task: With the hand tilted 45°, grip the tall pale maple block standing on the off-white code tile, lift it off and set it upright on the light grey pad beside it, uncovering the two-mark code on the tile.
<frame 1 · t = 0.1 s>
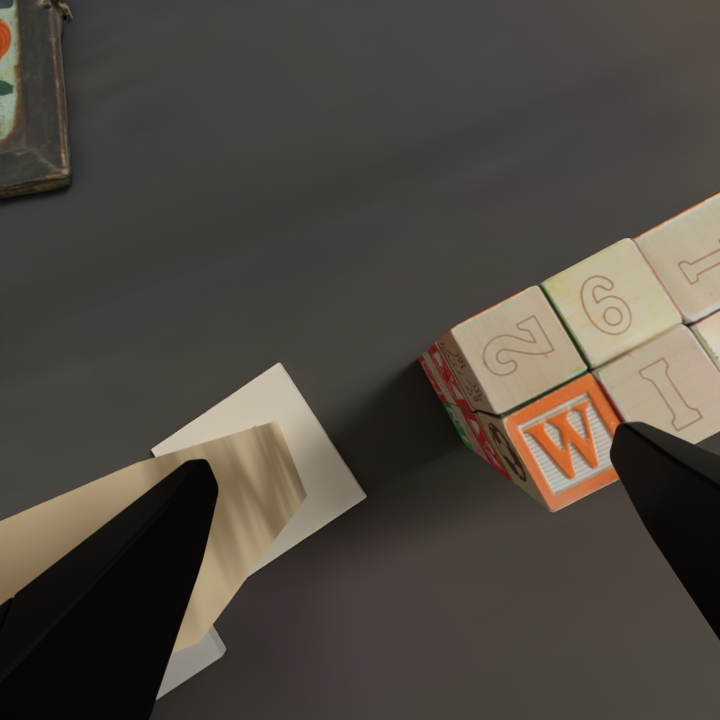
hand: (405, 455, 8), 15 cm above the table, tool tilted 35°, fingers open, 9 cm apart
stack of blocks: (589, 324, 23), on the table
code tile: (258, 471, 23), on the table
maple block: (255, 472, 23), resting on code tile
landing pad: (101, 615, 23), on the table
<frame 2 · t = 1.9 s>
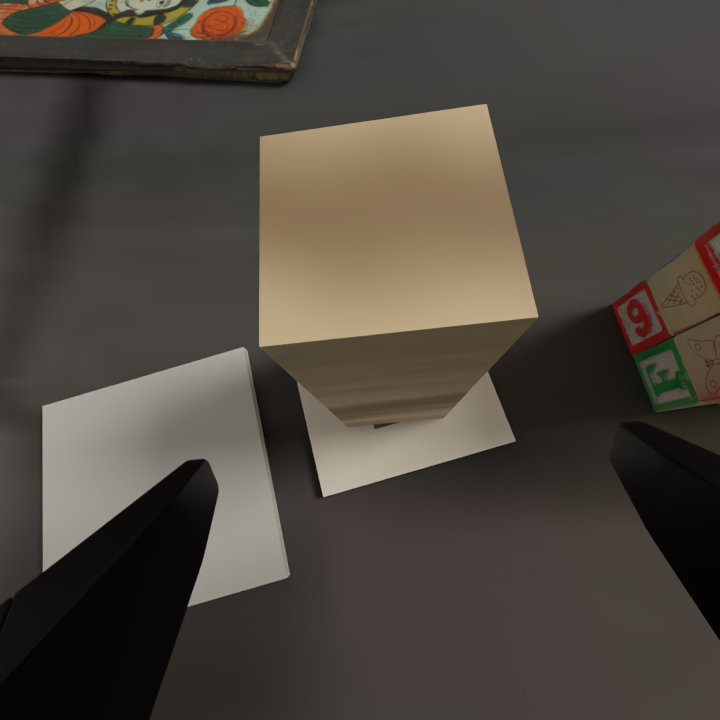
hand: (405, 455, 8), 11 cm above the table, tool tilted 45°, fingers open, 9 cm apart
code tile: (390, 377, 20), on the table
maple block: (390, 376, 20), resting on code tile
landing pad: (159, 483, 20), on the table
when the fingers open (8 cm above the table, at t = 8.7 s): maple block drops 1 cm, resting on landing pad.
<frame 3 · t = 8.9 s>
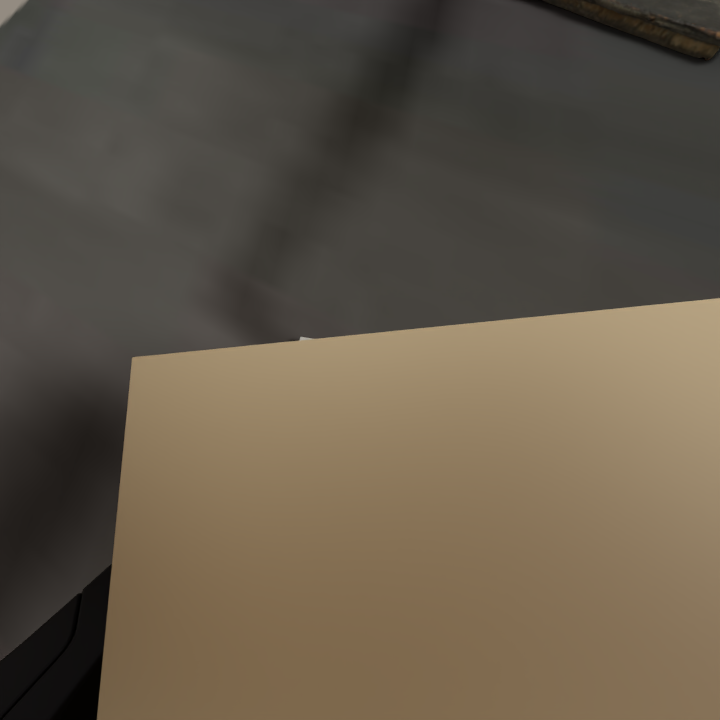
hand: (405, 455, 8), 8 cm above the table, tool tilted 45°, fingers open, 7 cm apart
maple block: (403, 496, 15), point 1 cm above the table, touching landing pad
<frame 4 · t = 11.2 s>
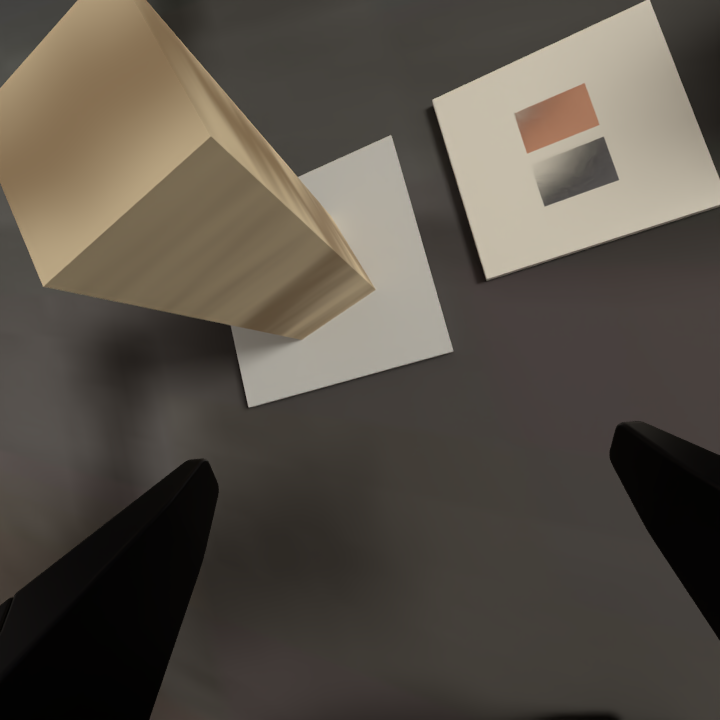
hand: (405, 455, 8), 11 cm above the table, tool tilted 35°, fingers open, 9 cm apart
code tile: (562, 150, 18), on the table
maple block: (316, 278, 20), point 1 cm above the table, touching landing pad
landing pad: (320, 280, 21), on the table
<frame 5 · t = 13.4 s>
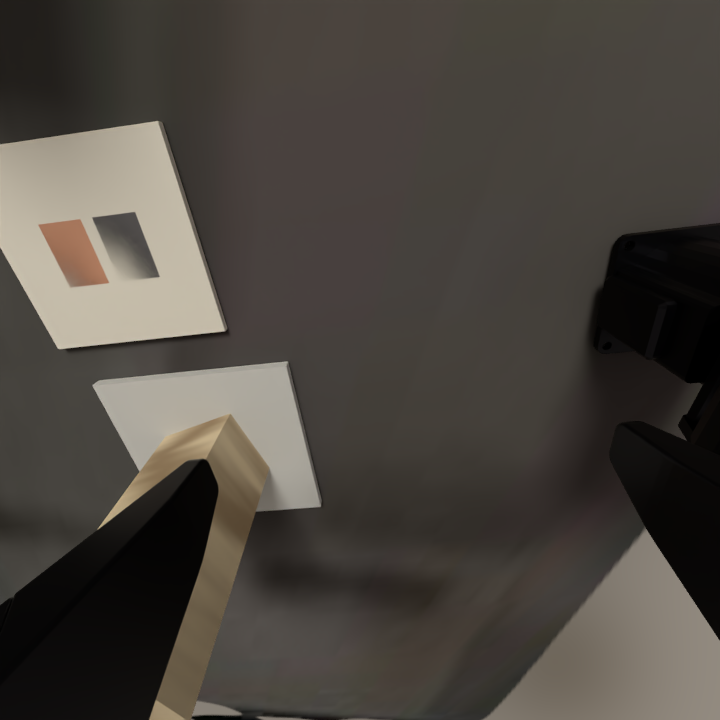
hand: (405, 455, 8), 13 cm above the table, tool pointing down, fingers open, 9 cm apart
code tile: (105, 250, 19), on the table
maple block: (218, 452, 24), point 1 cm above the table, touching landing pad
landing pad: (221, 446, 25), on the table
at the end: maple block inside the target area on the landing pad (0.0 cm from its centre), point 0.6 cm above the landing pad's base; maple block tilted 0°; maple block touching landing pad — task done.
